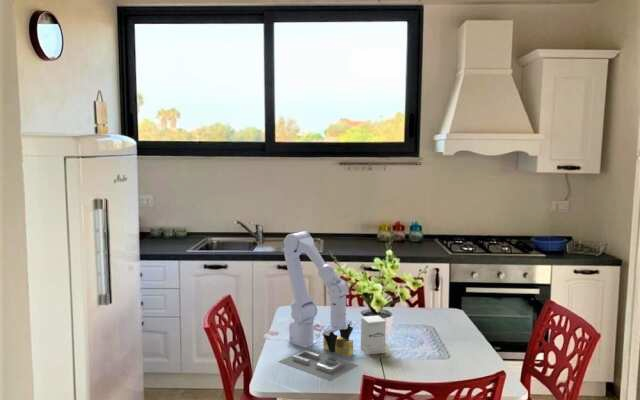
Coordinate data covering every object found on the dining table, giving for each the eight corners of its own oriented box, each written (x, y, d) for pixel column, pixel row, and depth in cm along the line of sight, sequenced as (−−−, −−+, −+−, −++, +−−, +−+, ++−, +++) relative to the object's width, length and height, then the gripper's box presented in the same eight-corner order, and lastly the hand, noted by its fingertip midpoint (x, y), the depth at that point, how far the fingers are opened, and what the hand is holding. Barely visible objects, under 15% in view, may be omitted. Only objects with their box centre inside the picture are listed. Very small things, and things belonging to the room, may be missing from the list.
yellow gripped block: (323, 350, 197) (323, 335, 196) (327, 348, 199) (327, 333, 198) (348, 358, 189) (348, 342, 188) (352, 356, 191) (353, 340, 190)
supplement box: (367, 355, 191) (367, 322, 190) (360, 348, 198) (360, 316, 197) (385, 353, 193) (386, 320, 192) (378, 346, 200) (378, 314, 199)
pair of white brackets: (292, 359, 186) (292, 355, 186) (305, 353, 192) (305, 349, 191) (331, 373, 175) (331, 369, 174) (344, 366, 180) (344, 362, 180)
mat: (278, 362, 185) (278, 361, 185) (307, 349, 197) (307, 348, 197) (330, 382, 169) (330, 380, 169) (358, 366, 182) (358, 365, 182)
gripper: (334, 320, 184) (334, 357, 185) (358, 310, 195) (357, 345, 197) (319, 316, 189) (319, 352, 190) (343, 307, 200) (343, 341, 201)
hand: (338, 348), depth 194 cm, fingers open, 7 cm apart
